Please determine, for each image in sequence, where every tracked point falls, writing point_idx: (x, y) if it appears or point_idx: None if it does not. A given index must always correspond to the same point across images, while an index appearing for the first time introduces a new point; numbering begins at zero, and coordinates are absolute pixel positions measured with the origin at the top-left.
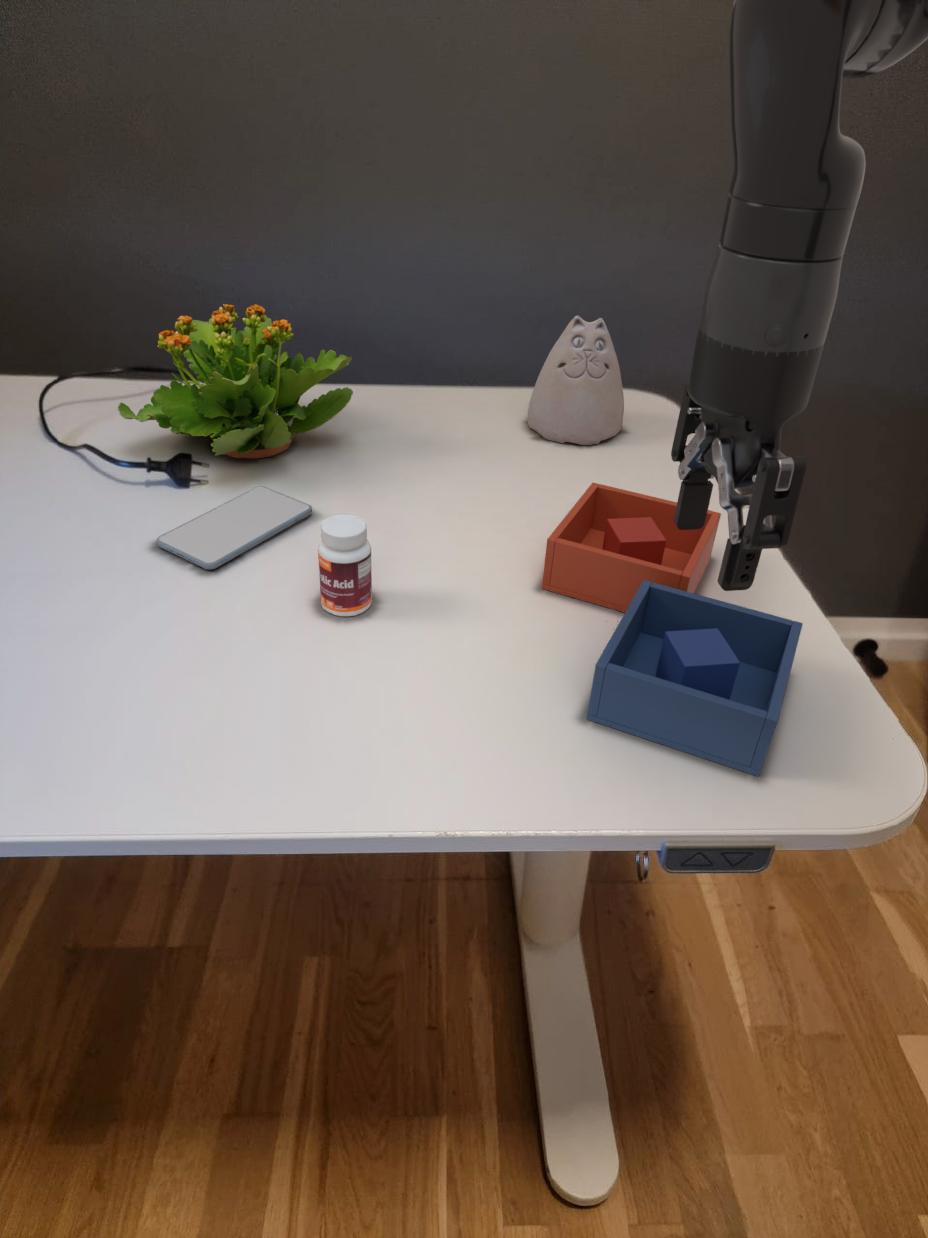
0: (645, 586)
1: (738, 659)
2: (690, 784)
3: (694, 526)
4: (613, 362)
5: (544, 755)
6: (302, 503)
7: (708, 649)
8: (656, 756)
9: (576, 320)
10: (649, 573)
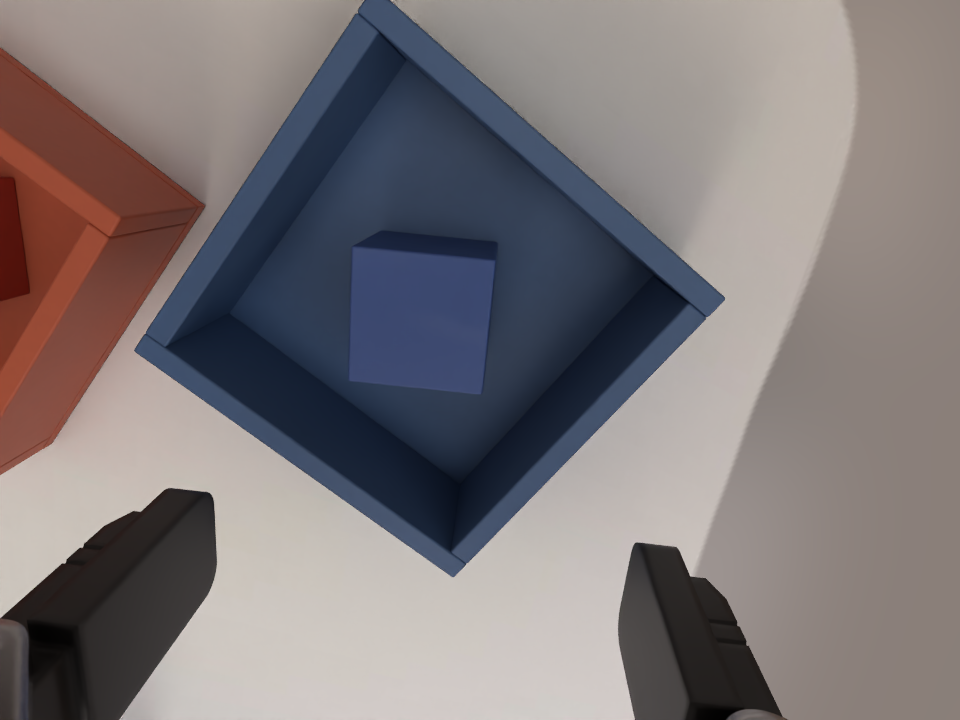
0: (165, 360)
1: (353, 136)
2: (656, 395)
3: (207, 524)
4: None
5: (530, 584)
6: None
7: (433, 313)
8: None
9: None
10: (83, 301)
